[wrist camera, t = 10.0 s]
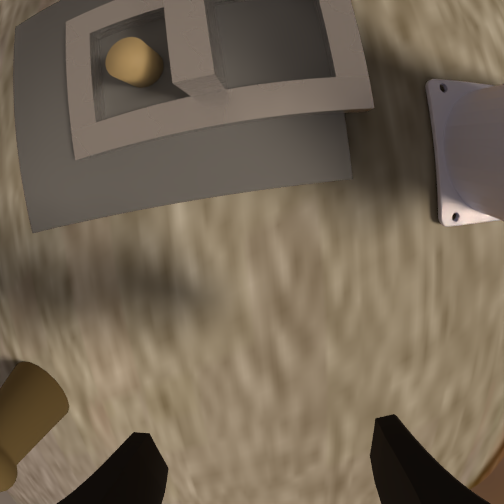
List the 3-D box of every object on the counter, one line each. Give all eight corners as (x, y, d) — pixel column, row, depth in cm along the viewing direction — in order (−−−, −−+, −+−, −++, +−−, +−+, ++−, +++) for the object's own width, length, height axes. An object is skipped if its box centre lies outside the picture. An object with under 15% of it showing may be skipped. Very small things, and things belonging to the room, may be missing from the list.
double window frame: (334, -27, 11) (349, -69, 7) (366, 111, 13) (398, 98, 10) (76, 27, 12) (36, 6, 9) (87, 159, 15) (40, 163, 11)
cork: (5, 363, 21) (-66, 436, 10) (43, 358, 20) (-37, 449, 10) (39, 415, 22) (-16, 492, 12) (81, 417, 22) (24, 511, 11)
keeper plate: (300, -53, 11) (305, -86, 8) (347, 177, 15) (366, 183, 12) (24, 30, 13) (-7, 19, 10) (42, 229, 17) (8, 243, 14)
